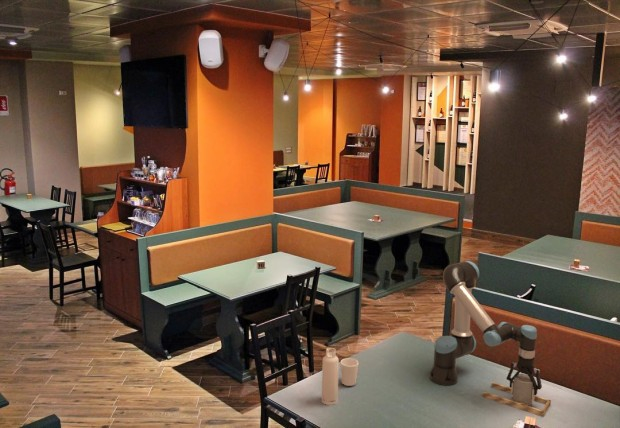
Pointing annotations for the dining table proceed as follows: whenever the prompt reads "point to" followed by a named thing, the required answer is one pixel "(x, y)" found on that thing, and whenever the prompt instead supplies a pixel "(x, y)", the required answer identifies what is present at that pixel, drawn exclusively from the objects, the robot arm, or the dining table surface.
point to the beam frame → (516, 404)
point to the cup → (349, 371)
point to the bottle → (330, 377)
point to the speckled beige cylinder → (522, 389)
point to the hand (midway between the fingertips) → (522, 396)
